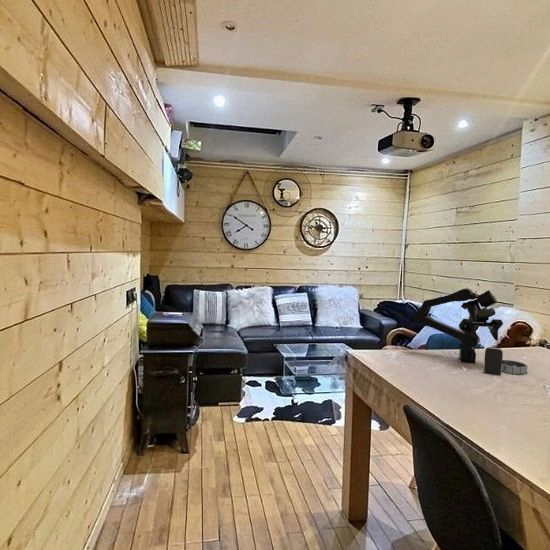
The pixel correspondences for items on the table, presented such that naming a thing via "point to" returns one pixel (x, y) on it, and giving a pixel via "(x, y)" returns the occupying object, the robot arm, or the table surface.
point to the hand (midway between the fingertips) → (487, 340)
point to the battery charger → (493, 360)
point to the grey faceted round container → (514, 367)
